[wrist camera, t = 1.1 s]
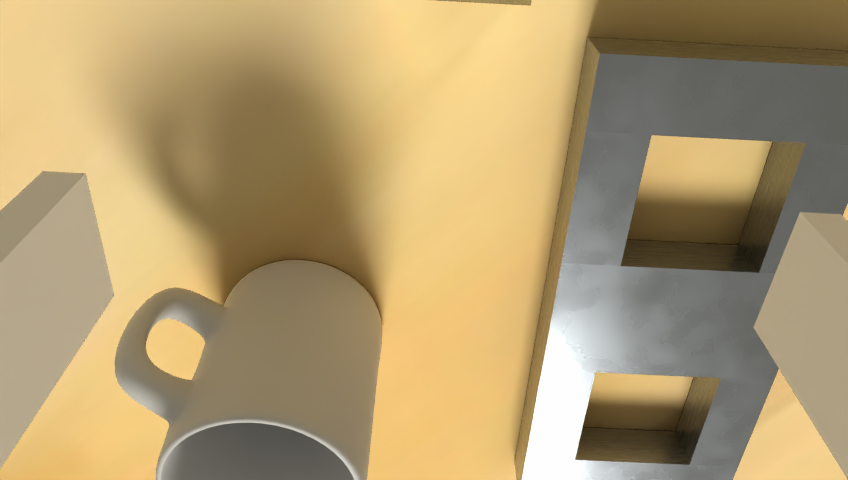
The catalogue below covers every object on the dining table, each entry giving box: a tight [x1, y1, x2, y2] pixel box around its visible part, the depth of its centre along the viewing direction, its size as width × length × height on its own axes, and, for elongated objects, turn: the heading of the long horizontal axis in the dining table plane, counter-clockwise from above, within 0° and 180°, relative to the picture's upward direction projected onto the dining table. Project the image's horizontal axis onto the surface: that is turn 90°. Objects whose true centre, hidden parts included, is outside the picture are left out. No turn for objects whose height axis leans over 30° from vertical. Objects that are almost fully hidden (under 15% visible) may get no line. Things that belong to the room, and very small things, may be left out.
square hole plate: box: [515, 37, 848, 480], centre depth 34 cm, size 26×12×2 cm, turn 177°
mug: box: [115, 260, 382, 480], centre depth 32 cm, size 12×8×11 cm
